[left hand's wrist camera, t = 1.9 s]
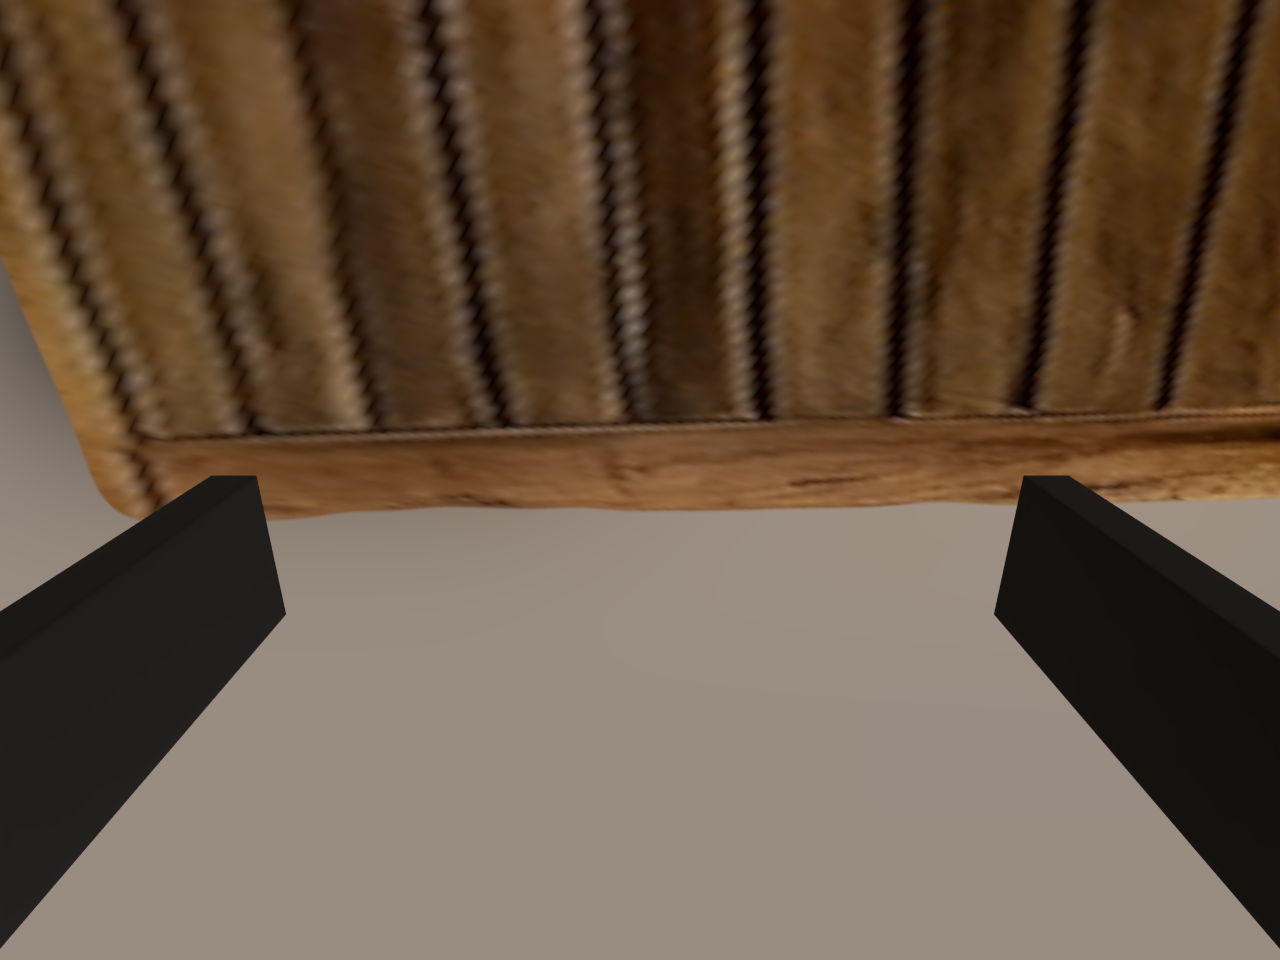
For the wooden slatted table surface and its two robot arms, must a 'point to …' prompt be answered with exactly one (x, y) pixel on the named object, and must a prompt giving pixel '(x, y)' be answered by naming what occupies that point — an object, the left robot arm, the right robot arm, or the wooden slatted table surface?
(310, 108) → the wooden slatted table surface
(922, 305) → the wooden slatted table surface
